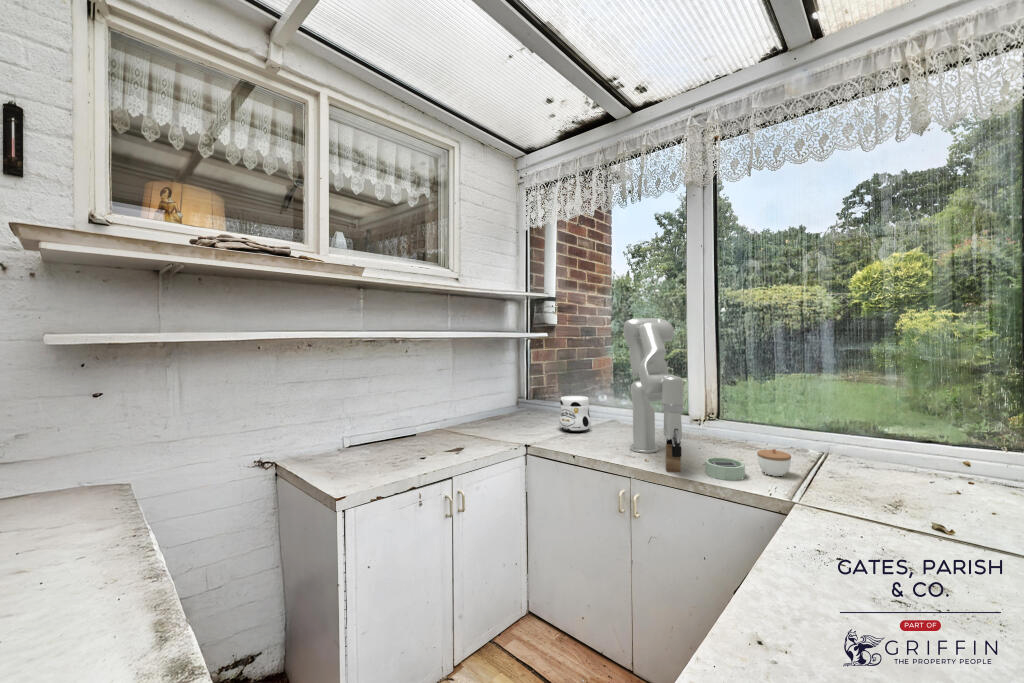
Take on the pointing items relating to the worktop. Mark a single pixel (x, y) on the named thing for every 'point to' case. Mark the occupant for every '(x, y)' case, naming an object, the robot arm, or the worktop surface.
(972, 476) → the worktop surface
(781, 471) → the lidded jar
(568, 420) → the milk container
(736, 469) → the green round dish
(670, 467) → the brown wooden block
